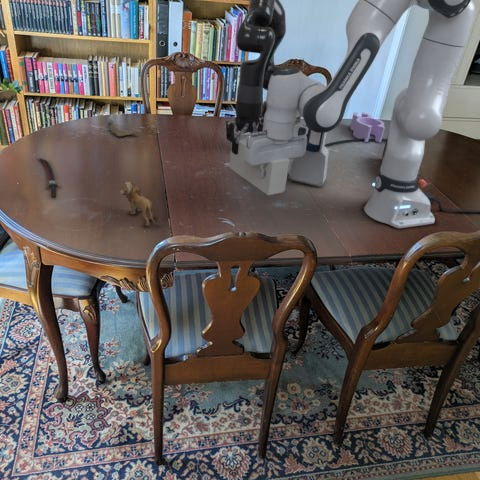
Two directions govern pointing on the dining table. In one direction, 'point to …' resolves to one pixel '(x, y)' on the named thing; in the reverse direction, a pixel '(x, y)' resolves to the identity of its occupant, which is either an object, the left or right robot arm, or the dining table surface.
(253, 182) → the box
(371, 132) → the clip
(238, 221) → the dining table surface
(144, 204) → the lion figurine
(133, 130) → the jawbone
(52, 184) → the sword
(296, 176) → the electronic device
